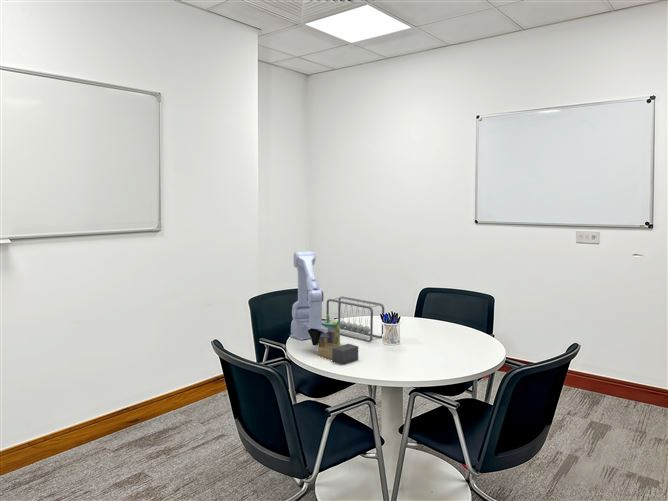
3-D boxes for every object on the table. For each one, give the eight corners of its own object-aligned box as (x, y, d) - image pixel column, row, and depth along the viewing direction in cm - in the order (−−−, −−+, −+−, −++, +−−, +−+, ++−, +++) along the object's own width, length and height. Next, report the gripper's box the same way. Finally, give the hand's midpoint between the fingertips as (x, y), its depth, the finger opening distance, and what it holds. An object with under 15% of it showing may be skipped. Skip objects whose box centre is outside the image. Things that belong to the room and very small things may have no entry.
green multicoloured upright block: (336, 349, 238) (337, 317, 236) (317, 347, 240) (317, 316, 238) (340, 343, 247) (340, 313, 245) (321, 342, 249) (322, 312, 247)
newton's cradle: (325, 331, 268) (326, 298, 266) (339, 328, 276) (339, 295, 274) (371, 343, 248) (372, 307, 246) (384, 338, 256) (384, 303, 254)
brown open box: (317, 356, 227) (318, 346, 227) (330, 352, 233) (330, 342, 232) (333, 361, 220) (334, 351, 220) (346, 357, 226) (346, 347, 225)
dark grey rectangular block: (319, 357, 225) (319, 344, 224) (335, 352, 232) (335, 339, 231) (342, 365, 215) (342, 351, 215) (358, 359, 222) (358, 346, 222)
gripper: (298, 314, 235) (298, 343, 236) (320, 320, 224) (319, 350, 226) (309, 312, 240) (309, 340, 241) (331, 317, 229) (331, 347, 231)
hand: (315, 344), depth 234 cm, fingers closed
